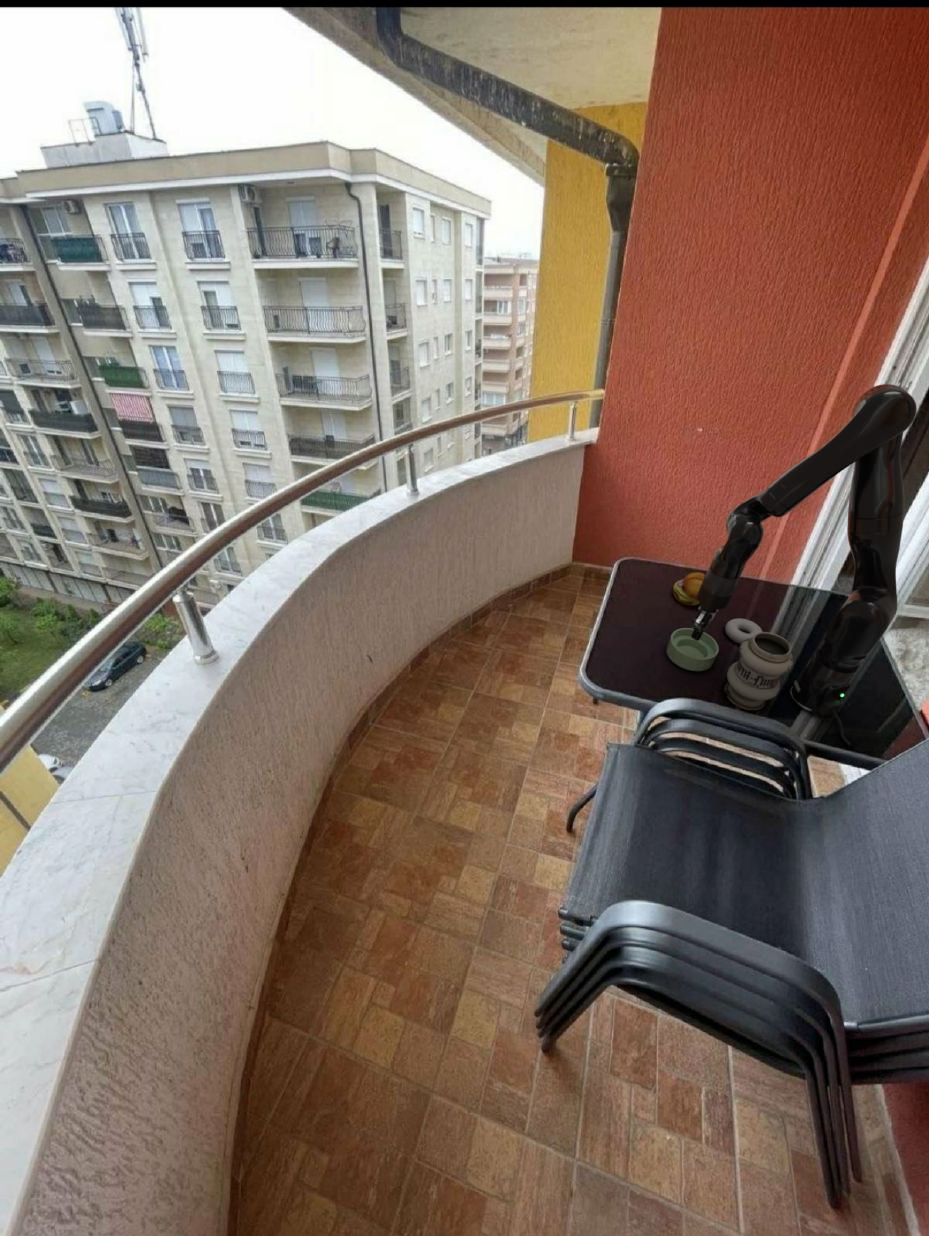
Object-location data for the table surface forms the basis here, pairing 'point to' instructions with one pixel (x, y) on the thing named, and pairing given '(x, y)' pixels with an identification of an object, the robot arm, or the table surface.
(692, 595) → the cheeseburger
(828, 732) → the table surface
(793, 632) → the table surface
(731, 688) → the apothecary jar
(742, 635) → the donut
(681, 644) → the bowl
